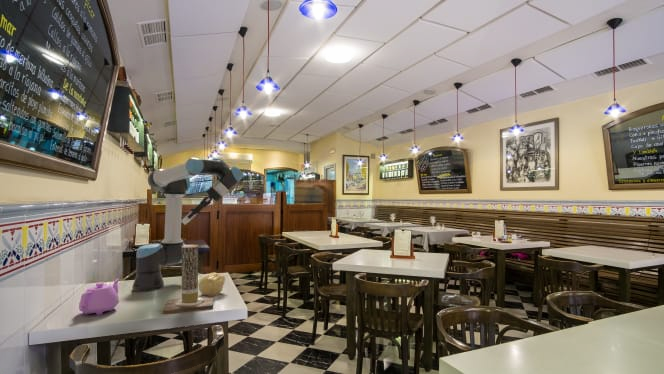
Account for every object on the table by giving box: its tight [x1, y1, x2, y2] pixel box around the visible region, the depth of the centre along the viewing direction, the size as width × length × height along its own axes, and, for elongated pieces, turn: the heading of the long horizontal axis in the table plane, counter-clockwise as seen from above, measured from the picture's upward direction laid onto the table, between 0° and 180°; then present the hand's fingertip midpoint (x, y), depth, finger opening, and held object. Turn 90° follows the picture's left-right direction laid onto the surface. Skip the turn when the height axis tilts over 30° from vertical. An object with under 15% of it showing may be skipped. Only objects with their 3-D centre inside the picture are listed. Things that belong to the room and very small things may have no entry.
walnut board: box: [161, 295, 215, 315], centre depth 153 cm, size 16×20×2 cm
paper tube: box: [181, 244, 199, 303], centre depth 154 cm, size 7×7×25 cm
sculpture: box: [198, 272, 226, 296], centre depth 172 cm, size 12×12×11 cm
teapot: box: [78, 277, 120, 316], centre depth 147 cm, size 20×14×12 cm
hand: (184, 222), depth 166 cm, fingers open, 13 cm apart
